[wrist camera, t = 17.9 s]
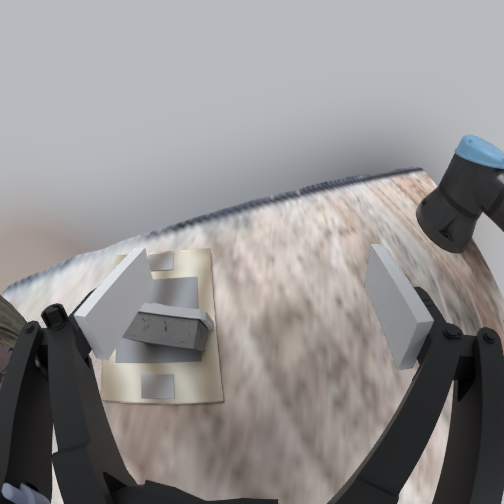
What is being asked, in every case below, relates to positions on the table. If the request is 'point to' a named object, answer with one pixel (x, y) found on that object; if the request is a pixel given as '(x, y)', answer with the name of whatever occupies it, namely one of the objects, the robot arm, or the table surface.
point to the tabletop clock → (8, 333)
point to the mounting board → (162, 357)
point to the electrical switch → (170, 326)
